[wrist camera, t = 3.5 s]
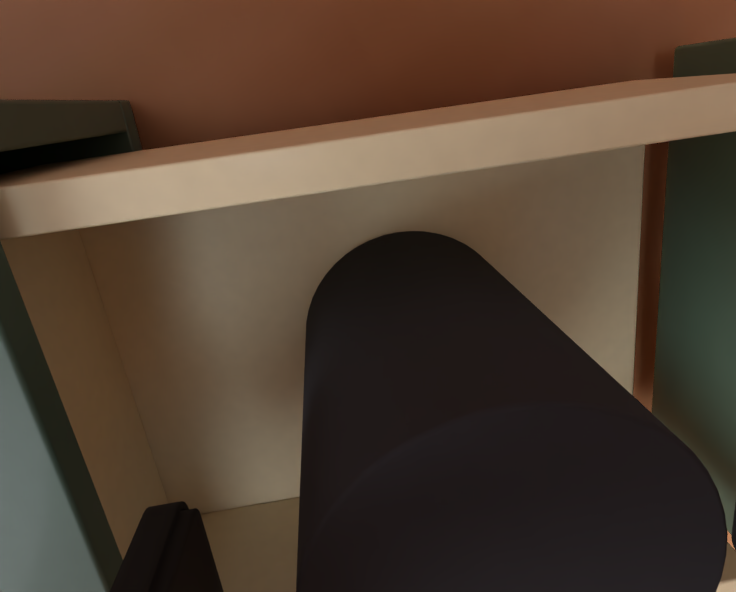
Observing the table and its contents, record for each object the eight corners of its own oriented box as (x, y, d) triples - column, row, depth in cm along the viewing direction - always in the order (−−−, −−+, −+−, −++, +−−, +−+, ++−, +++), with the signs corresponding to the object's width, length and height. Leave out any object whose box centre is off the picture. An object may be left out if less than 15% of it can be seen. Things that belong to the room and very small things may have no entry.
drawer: (911, 13, 15) (1350, -52, 9) (830, 418, 20) (1075, 568, 13) (36, 136, 14) (-195, 165, 8) (169, 532, 19) (95, 755, 12)
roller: (288, 247, 15) (252, 449, 6) (504, 214, 15) (756, 365, 6) (323, 433, 17) (333, 773, 8) (512, 401, 17) (708, 700, 8)
